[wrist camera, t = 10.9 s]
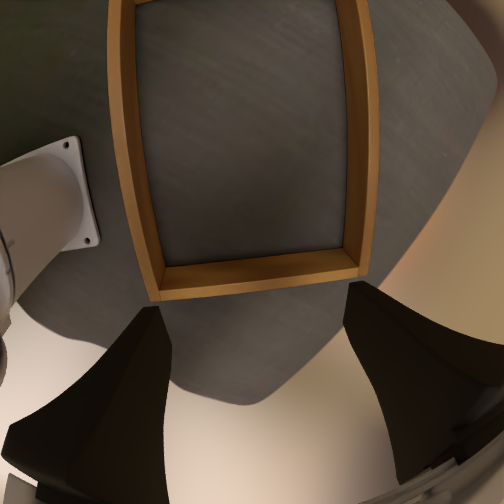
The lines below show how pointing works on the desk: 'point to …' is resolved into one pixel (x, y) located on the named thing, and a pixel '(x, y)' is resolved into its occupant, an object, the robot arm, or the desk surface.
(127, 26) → the wooden frame
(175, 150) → the desk surface
